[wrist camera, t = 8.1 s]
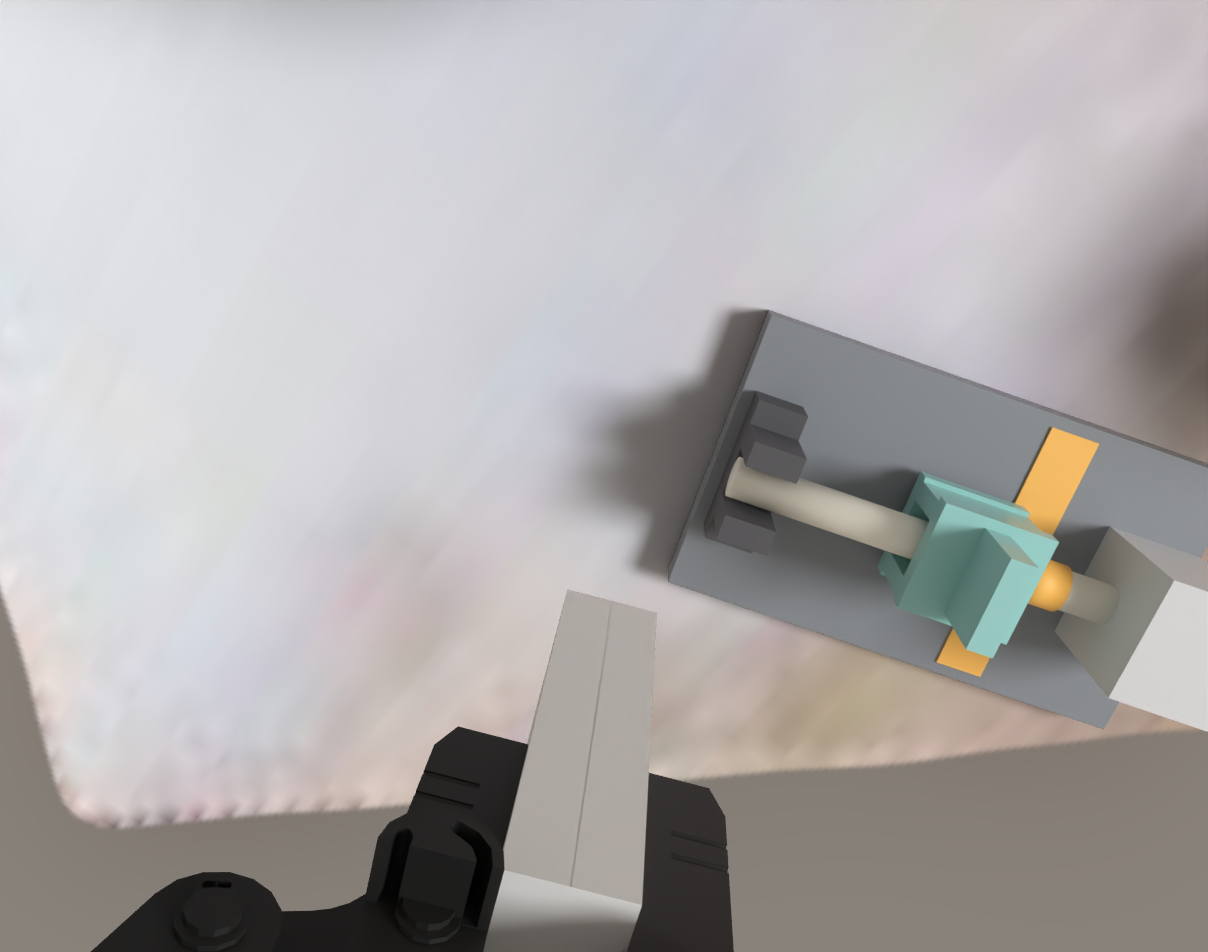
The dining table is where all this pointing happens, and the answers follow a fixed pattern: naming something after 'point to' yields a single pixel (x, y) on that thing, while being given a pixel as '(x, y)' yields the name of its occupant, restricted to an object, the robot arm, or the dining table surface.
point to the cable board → (883, 470)
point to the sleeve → (969, 562)
